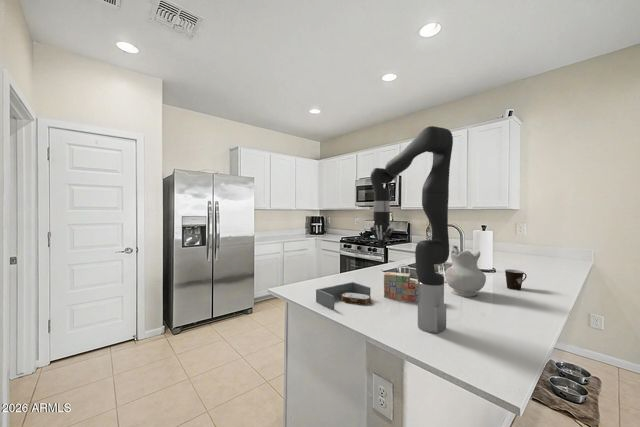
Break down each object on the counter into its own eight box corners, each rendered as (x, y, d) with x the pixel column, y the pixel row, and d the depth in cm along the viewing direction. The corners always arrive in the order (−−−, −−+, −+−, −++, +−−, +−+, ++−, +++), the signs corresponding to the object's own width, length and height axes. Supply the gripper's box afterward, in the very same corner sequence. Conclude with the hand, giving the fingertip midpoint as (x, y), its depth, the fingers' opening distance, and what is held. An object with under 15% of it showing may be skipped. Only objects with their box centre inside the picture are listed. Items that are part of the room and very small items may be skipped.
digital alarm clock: (369, 305, 126) (372, 301, 134) (369, 298, 126) (372, 294, 134) (338, 301, 132) (343, 297, 139) (338, 295, 132) (343, 291, 140)
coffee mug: (508, 290, 151) (508, 272, 151) (502, 285, 160) (502, 269, 159) (532, 291, 148) (532, 273, 148) (525, 287, 156) (525, 270, 156)
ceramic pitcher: (434, 290, 154) (432, 247, 153) (462, 285, 160) (459, 243, 159) (465, 303, 133) (463, 253, 132) (495, 296, 139) (493, 248, 138)
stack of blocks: (429, 299, 135) (429, 275, 135) (428, 303, 129) (428, 278, 129) (386, 294, 144) (386, 271, 143) (383, 297, 138) (383, 273, 138)
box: (370, 299, 135) (370, 287, 135) (332, 309, 121) (332, 296, 121) (352, 293, 145) (352, 281, 145) (316, 301, 131) (316, 289, 131)
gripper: (398, 210, 124) (398, 248, 124) (376, 210, 135) (376, 245, 135) (387, 210, 120) (387, 249, 120) (365, 210, 130) (365, 246, 130)
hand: (381, 247), depth 127 cm, fingers closed
